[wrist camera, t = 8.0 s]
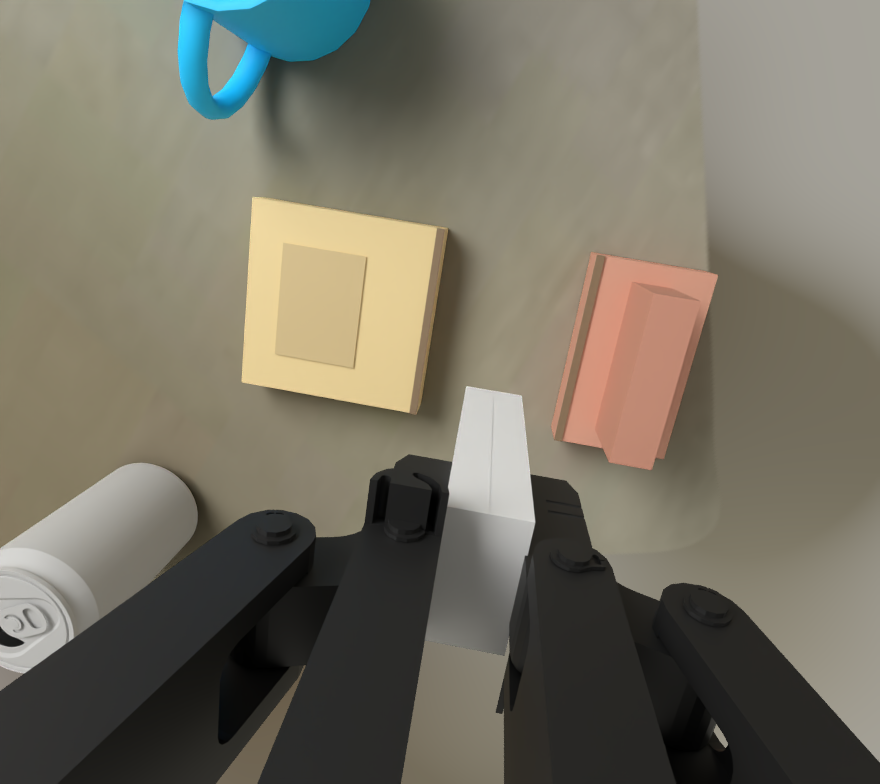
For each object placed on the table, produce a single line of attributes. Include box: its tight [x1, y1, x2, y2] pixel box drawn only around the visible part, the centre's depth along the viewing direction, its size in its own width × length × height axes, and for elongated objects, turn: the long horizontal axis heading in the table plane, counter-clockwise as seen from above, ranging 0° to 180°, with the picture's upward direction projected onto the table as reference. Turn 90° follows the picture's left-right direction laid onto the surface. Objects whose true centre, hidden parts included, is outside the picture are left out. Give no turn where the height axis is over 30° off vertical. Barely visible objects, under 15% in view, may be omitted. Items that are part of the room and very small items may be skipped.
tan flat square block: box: [242, 197, 448, 415], centre depth 33 cm, size 10×10×2 cm
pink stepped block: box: [551, 252, 718, 470], centre depth 30 cm, size 10×6×6 cm, turn 171°
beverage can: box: [0, 463, 198, 673], centre depth 33 cm, size 6×6×12 cm
